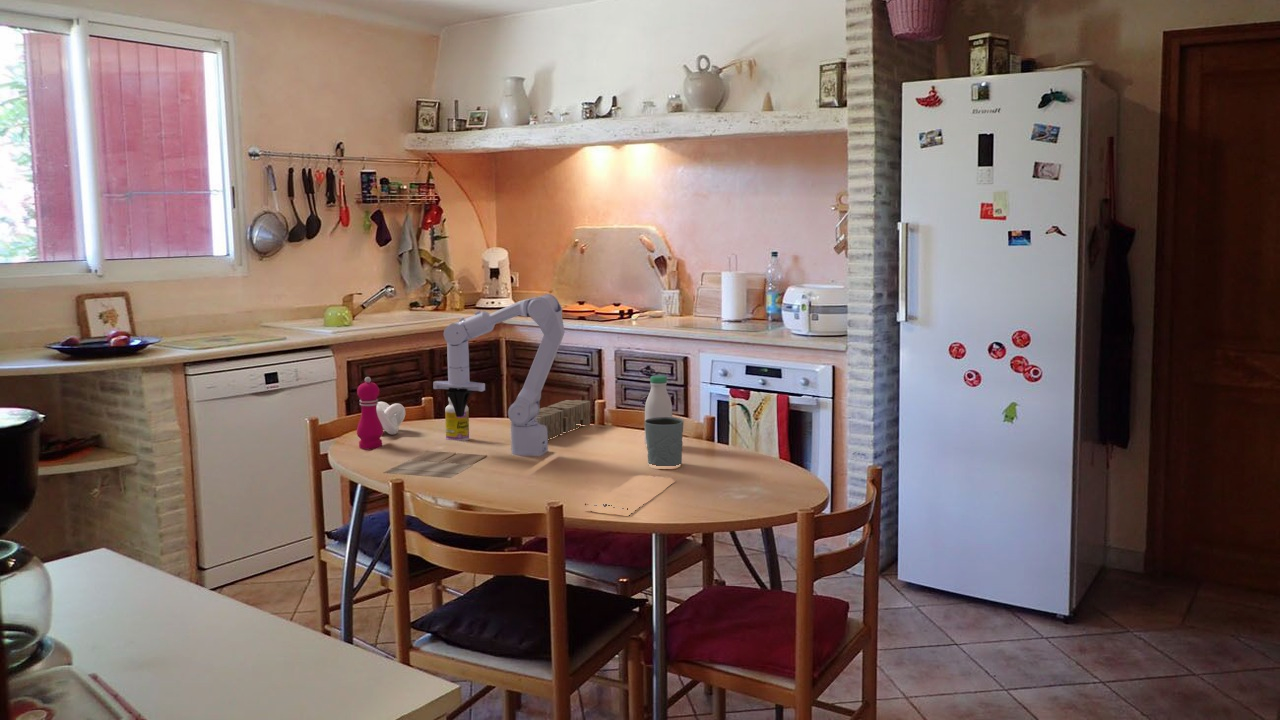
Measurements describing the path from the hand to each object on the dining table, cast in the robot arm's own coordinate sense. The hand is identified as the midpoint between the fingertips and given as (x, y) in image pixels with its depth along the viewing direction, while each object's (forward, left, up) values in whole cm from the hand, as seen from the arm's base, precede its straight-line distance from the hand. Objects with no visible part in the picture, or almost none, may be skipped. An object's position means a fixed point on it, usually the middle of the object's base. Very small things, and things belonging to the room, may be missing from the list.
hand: (460, 416), depth 280 cm
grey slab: (-1, +21, -10) cm, 23 cm away
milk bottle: (-50, -22, -11) cm, 56 cm away
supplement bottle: (+8, -14, -11) cm, 19 cm away
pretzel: (+34, -17, -11) cm, 39 cm away
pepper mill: (+28, 0, -11) cm, 30 cm away
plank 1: (+3, +9, -10) cm, 14 cm away
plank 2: (-6, +9, -10) cm, 15 cm away
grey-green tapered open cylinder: (-57, -2, -11) cm, 58 cm away
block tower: (-16, -31, -11) cm, 37 cm away
